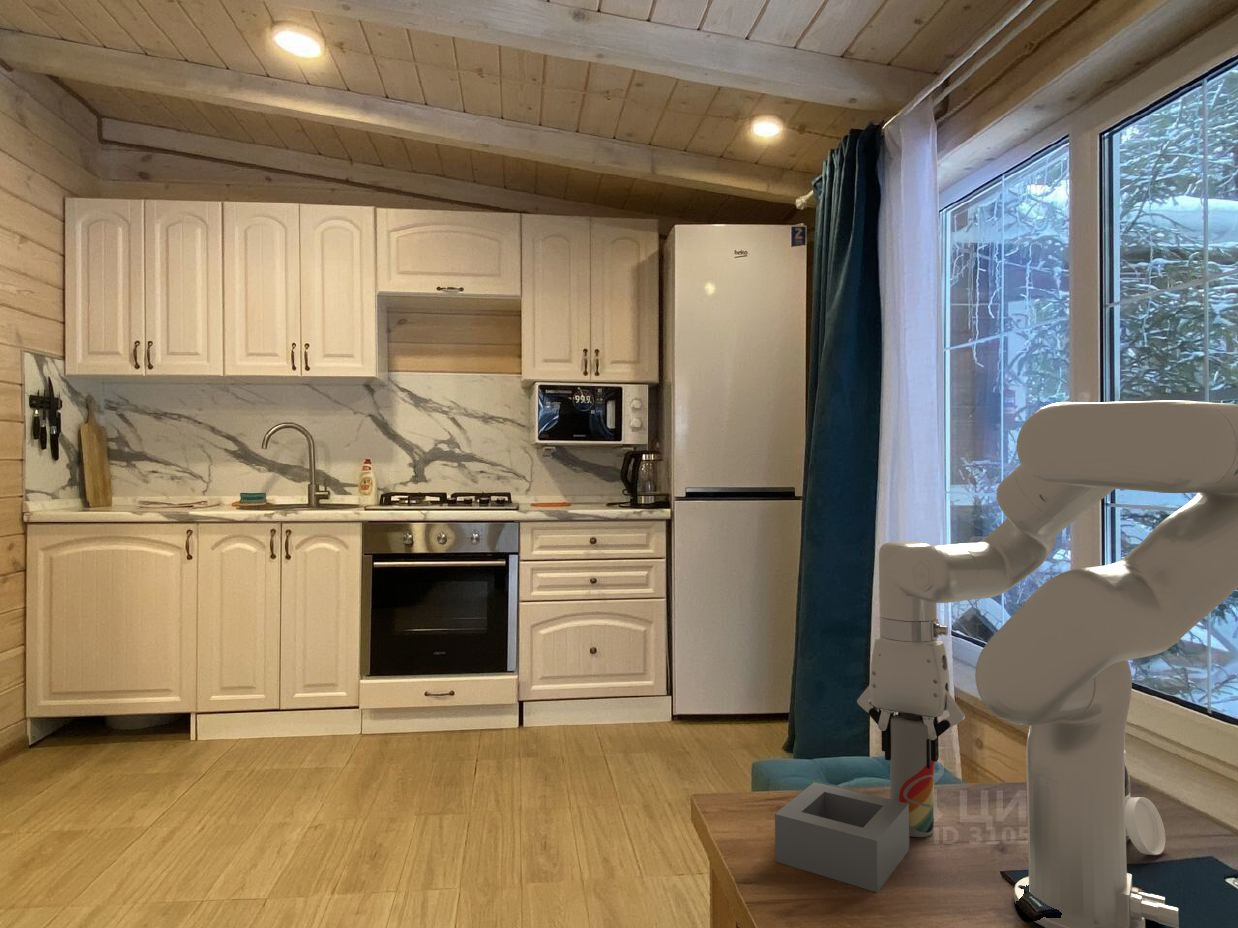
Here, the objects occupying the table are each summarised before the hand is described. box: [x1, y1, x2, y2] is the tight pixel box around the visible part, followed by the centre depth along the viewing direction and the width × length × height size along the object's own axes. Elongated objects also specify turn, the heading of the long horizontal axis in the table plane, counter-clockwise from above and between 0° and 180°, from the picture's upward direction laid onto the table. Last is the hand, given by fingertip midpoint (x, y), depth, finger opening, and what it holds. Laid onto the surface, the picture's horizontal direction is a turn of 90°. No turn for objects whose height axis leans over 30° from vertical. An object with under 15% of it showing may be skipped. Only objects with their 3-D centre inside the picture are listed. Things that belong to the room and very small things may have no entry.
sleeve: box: [774, 781, 910, 893], centre depth 100 cm, size 13×13×6 cm
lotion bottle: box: [889, 712, 935, 838], centre depth 108 cm, size 6×6×20 cm
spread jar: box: [1124, 749, 1166, 856], centre depth 105 cm, size 12×11×12 cm
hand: (909, 760), depth 108 cm, fingers closed on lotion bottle, 4 cm apart
